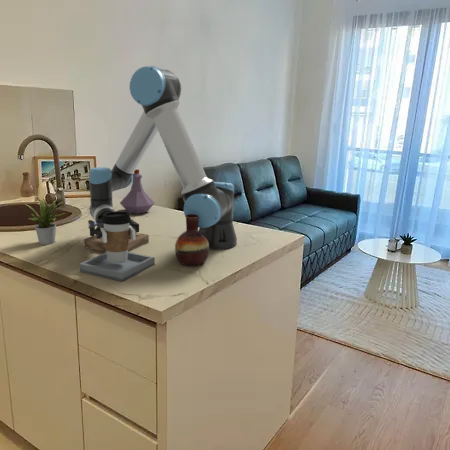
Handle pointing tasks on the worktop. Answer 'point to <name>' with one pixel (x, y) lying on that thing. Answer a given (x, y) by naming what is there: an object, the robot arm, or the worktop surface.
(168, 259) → the worktop surface
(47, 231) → the house plant
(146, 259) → the tray
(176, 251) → the vase
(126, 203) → the flask
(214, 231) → the robot arm
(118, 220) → the coffee cup
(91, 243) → the square wooden frame
